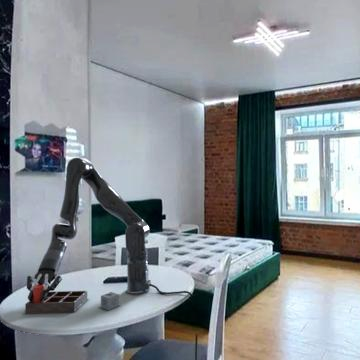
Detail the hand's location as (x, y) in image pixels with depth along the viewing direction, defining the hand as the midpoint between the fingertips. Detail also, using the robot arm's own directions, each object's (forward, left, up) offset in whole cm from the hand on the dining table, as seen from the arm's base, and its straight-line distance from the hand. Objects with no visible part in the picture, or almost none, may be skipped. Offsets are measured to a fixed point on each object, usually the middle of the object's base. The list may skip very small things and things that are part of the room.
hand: (35, 300), depth 125 cm
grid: (-6, -5, -5) cm, 9 cm away
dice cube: (-28, -3, -5) cm, 29 cm away
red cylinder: (0, -2, -4) cm, 4 cm away
